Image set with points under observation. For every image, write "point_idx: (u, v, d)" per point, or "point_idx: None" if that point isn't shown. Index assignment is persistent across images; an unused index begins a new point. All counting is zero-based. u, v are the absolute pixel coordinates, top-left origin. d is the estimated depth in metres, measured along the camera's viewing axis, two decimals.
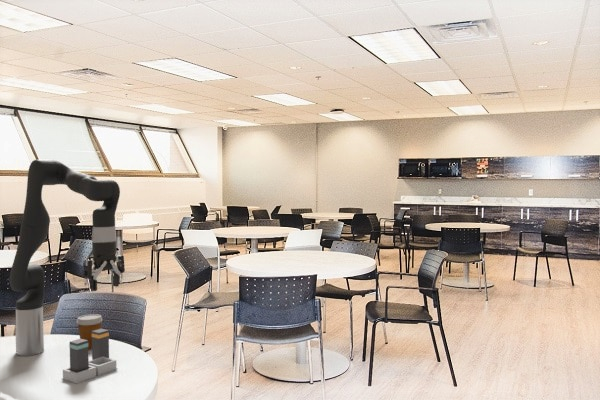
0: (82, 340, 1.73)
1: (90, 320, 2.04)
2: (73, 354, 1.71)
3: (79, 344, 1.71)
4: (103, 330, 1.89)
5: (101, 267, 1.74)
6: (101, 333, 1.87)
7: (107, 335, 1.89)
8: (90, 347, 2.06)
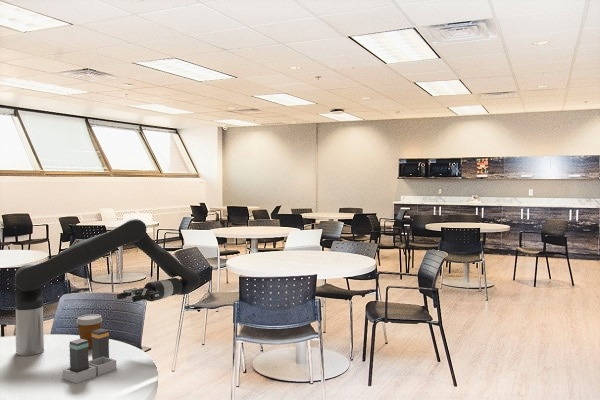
0: (82, 340, 1.73)
1: (90, 320, 2.04)
2: (73, 354, 1.71)
3: (79, 344, 1.71)
4: (103, 330, 1.89)
5: None
6: (101, 333, 1.87)
7: (107, 335, 1.89)
8: (90, 347, 2.06)
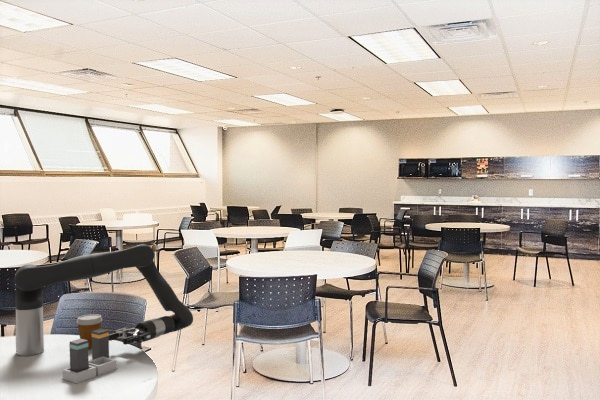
0: (82, 340, 1.73)
1: (90, 320, 2.04)
2: (73, 354, 1.71)
3: (79, 344, 1.71)
4: (103, 330, 1.89)
5: None
6: (101, 333, 1.87)
7: (107, 335, 1.89)
8: (90, 347, 2.06)
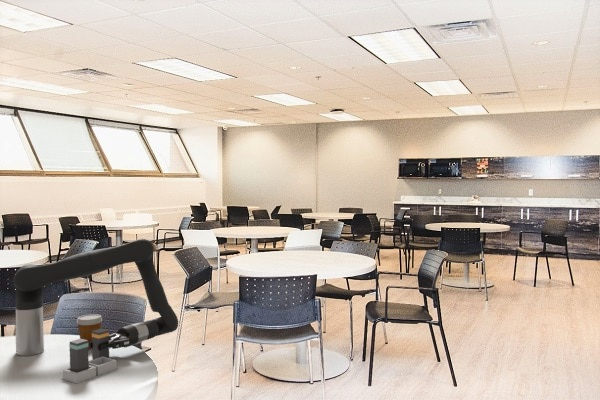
0: (82, 340, 1.73)
1: (90, 320, 2.04)
2: (73, 354, 1.71)
3: (79, 344, 1.71)
4: (103, 330, 1.89)
5: None
6: (101, 333, 1.87)
7: (107, 335, 1.89)
8: None
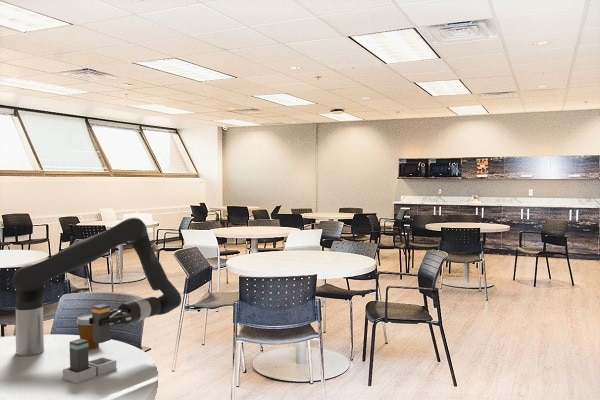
0: (82, 340, 1.73)
1: None
2: (73, 354, 1.71)
3: (79, 344, 1.71)
4: (104, 305, 1.80)
5: None
6: (102, 308, 1.78)
7: (108, 310, 1.80)
8: (90, 347, 2.06)
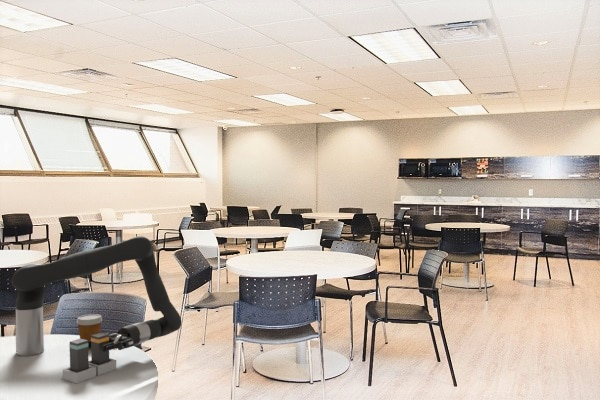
0: (82, 340, 1.73)
1: (90, 320, 2.04)
2: (73, 354, 1.71)
3: (79, 344, 1.71)
4: (103, 334, 1.80)
5: None
6: (101, 337, 1.78)
7: (107, 339, 1.80)
8: (90, 347, 2.06)
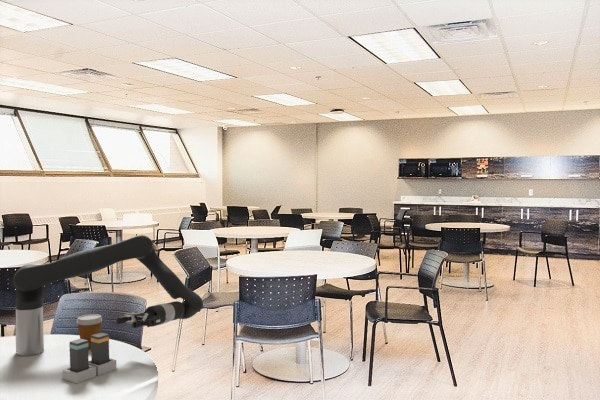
0: (82, 340, 1.73)
1: (90, 320, 2.04)
2: (73, 354, 1.71)
3: (79, 344, 1.71)
4: (103, 334, 1.80)
5: None
6: (101, 337, 1.78)
7: (107, 339, 1.80)
8: (90, 347, 2.06)
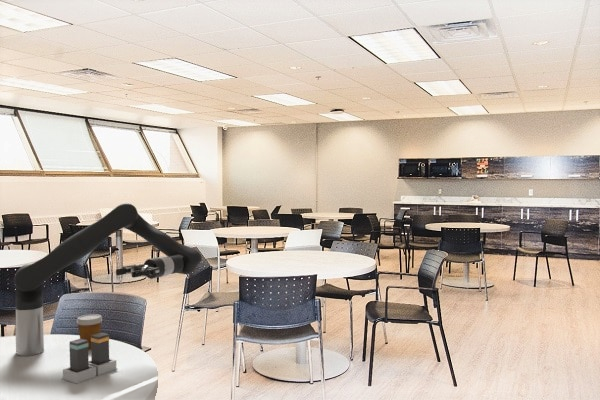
0: (82, 340, 1.73)
1: (90, 320, 2.04)
2: (73, 354, 1.71)
3: (79, 344, 1.71)
4: (103, 334, 1.80)
5: None
6: (101, 337, 1.78)
7: (107, 339, 1.80)
8: (90, 347, 2.06)
